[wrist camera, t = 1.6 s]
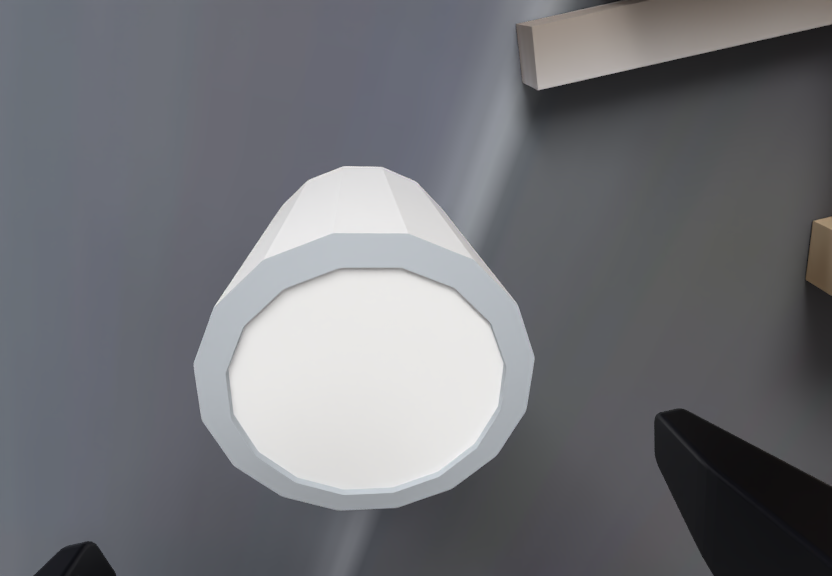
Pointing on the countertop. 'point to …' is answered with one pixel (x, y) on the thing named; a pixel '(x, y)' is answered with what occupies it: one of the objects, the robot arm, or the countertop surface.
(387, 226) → the white grey-rimmed cylinder
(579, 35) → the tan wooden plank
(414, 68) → the countertop surface
